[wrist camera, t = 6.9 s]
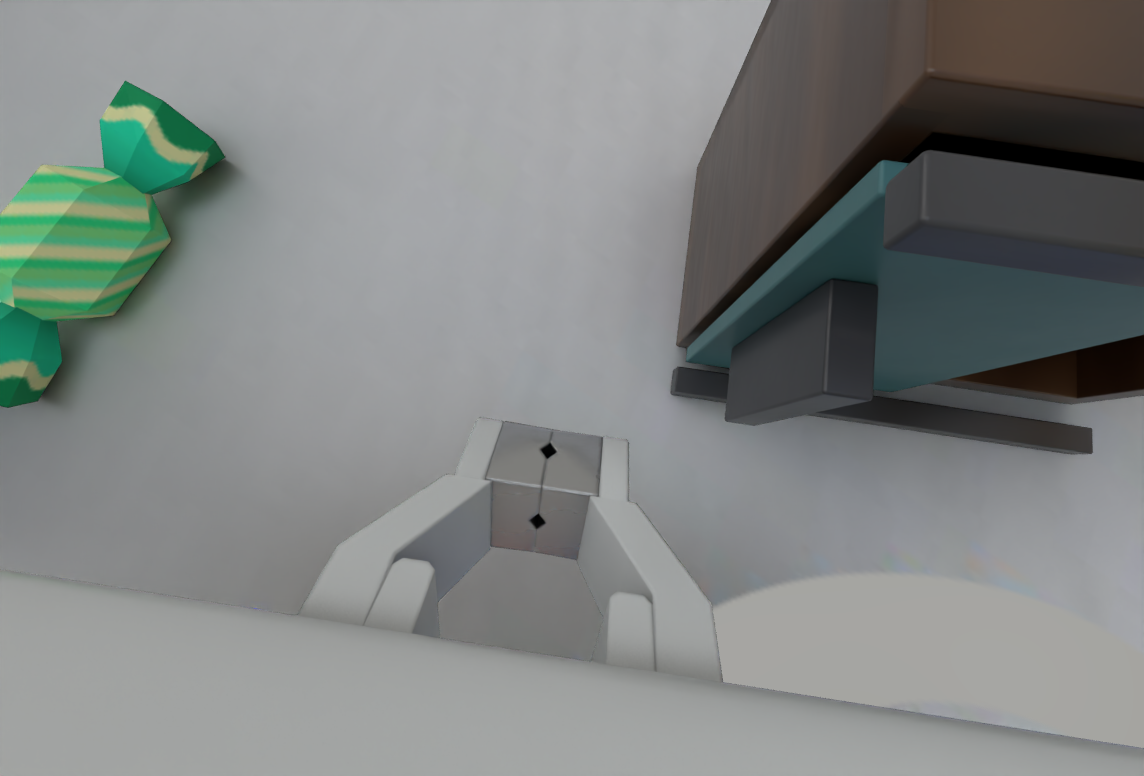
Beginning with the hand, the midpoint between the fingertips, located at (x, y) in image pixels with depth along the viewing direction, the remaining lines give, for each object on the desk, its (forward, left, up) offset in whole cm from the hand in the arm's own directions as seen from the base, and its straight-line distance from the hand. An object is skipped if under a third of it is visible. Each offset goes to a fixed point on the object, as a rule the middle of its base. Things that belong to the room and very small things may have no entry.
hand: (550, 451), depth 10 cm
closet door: (+7, -5, -8) cm, 12 cm away
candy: (-7, +18, -9) cm, 22 cm away
